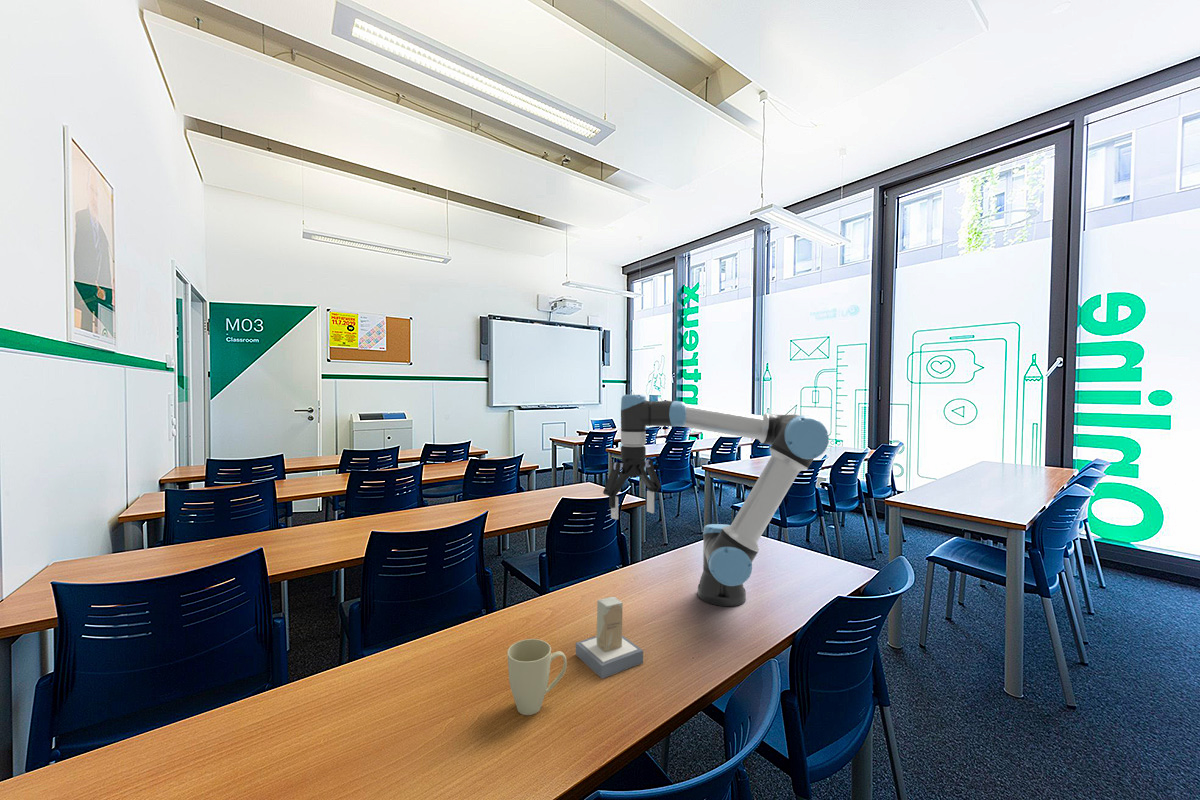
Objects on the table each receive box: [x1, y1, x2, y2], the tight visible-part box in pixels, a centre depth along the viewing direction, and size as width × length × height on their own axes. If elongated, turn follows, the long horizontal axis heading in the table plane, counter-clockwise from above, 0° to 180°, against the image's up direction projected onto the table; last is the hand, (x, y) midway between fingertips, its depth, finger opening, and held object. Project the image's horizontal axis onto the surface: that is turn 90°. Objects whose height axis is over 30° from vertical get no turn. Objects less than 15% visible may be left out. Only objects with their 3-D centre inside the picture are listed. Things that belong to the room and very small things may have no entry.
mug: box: [506, 638, 568, 716], centre depth 98 cm, size 11×10×12 cm
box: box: [596, 596, 624, 652], centre depth 115 cm, size 5×4×11 cm
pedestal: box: [575, 634, 644, 680], centre depth 115 cm, size 12×12×3 cm
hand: (633, 515), depth 142 cm, fingers open, 13 cm apart
